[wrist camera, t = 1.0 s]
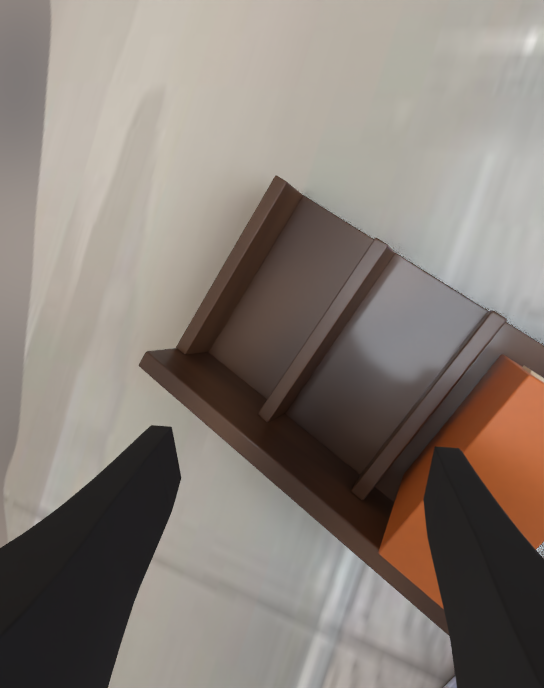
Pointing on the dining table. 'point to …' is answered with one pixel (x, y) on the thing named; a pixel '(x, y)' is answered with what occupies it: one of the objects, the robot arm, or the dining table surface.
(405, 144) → the dining table surface
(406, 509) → the book
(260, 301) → the book rack
